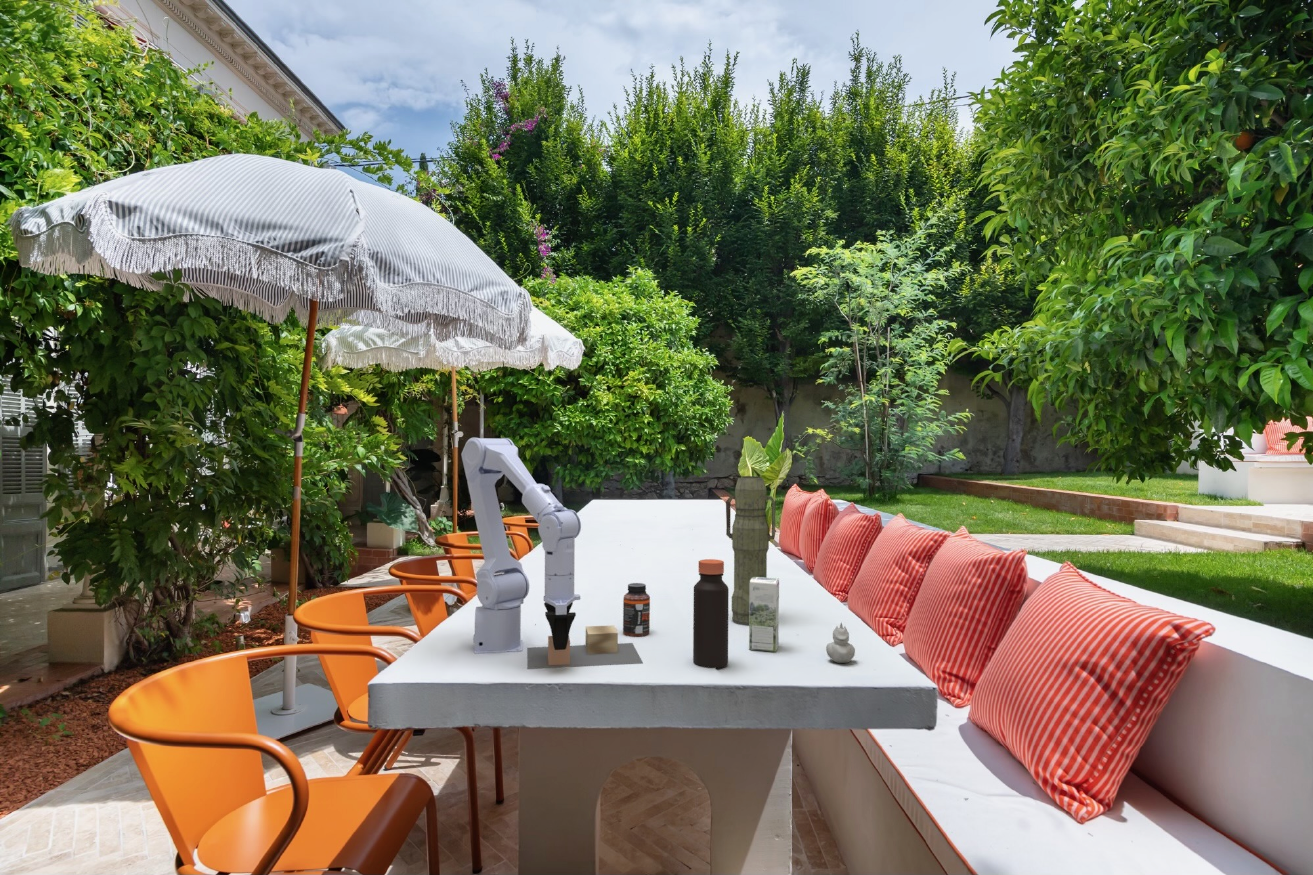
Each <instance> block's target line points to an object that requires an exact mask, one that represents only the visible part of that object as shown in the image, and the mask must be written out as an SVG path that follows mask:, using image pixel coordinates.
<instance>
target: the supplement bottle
mask: <svg viewBox="0 0 1313 875" xmlns="http://www.w3.org/2000/svg"><path fill="white" fill-rule="evenodd" d="M646 590H647V585H646V583H642V582H631V583H628V584H627V591H628V592H627V593H625V594H624V595H623V606H622V608H623V610H622V611H623V612H622V615H623V616H622V617H623V618H622V634H623V635H624V636H625V637H632V638H639V637H640V638H642V637H647V636H649V634H650V626H651V624H650V623H651V622H650V615H651V612H650V610H651V597H650V595H649V594H648V593H647V591H646Z"/></svg>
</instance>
